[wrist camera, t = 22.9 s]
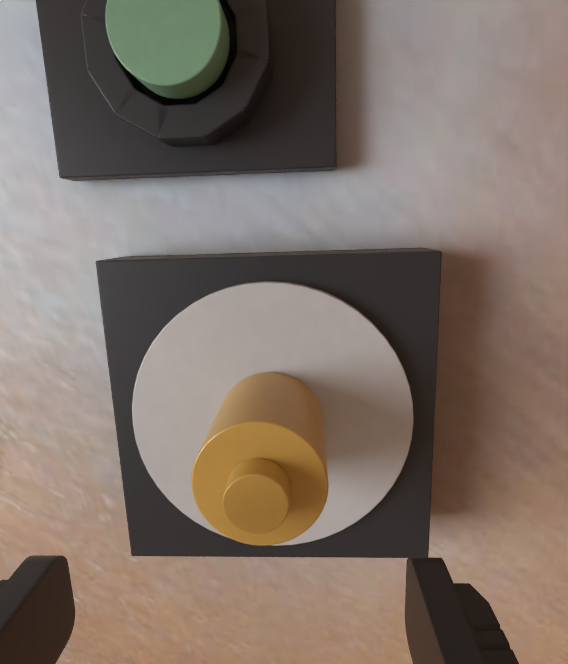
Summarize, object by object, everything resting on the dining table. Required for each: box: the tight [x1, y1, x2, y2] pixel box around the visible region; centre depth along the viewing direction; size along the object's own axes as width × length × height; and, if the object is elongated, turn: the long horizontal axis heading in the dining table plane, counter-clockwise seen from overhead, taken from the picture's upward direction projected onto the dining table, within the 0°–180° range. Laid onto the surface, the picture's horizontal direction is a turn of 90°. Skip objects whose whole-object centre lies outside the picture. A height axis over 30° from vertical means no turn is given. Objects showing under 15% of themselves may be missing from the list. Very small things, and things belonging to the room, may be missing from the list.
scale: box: [96, 248, 442, 558], centre depth 21 cm, size 14×14×4 cm
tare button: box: [105, 0, 230, 99], centre depth 16 cm, size 4×4×2 cm
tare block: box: [36, 0, 336, 181], centre depth 18 cm, size 12×9×3 cm
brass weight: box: [191, 372, 329, 546], centre depth 16 cm, size 4×4×6 cm
